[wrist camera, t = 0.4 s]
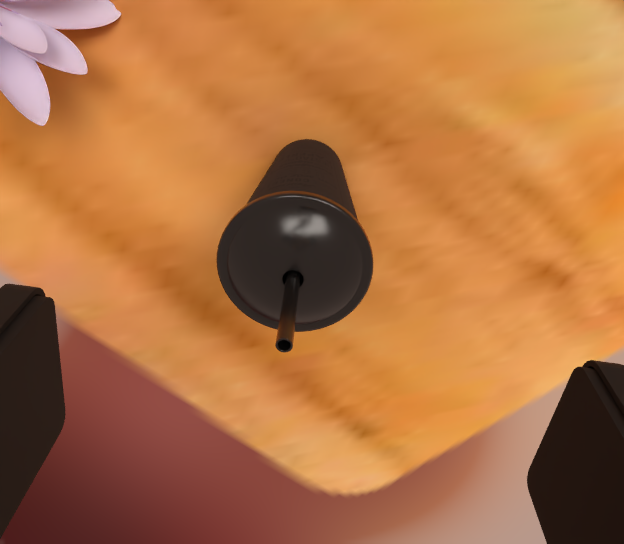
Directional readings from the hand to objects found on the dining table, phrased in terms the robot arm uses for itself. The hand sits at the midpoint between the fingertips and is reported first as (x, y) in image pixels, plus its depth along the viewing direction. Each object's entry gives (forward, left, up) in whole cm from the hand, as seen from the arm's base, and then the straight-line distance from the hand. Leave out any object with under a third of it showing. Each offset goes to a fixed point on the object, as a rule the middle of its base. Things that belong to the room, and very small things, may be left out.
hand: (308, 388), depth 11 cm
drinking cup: (+7, 0, -31) cm, 31 cm away
